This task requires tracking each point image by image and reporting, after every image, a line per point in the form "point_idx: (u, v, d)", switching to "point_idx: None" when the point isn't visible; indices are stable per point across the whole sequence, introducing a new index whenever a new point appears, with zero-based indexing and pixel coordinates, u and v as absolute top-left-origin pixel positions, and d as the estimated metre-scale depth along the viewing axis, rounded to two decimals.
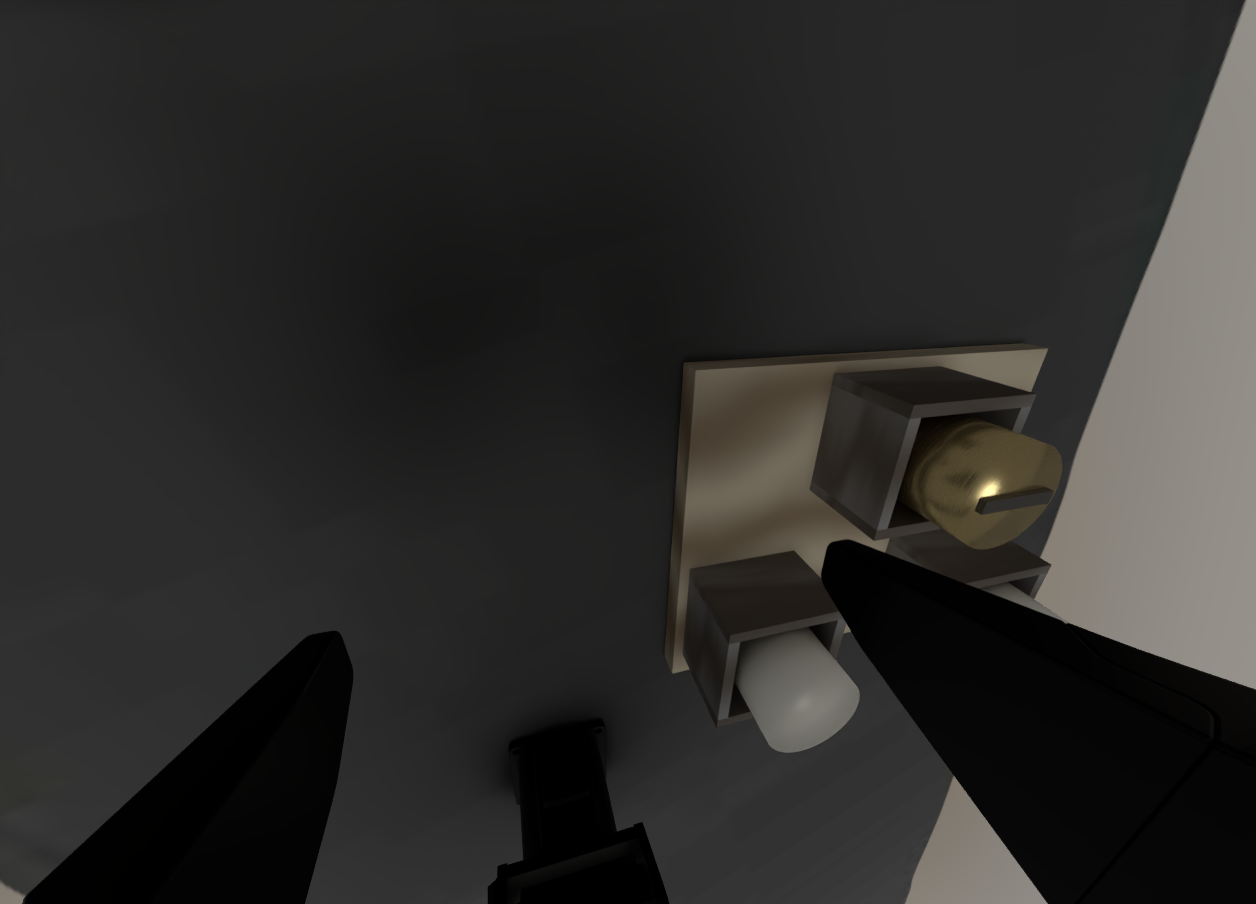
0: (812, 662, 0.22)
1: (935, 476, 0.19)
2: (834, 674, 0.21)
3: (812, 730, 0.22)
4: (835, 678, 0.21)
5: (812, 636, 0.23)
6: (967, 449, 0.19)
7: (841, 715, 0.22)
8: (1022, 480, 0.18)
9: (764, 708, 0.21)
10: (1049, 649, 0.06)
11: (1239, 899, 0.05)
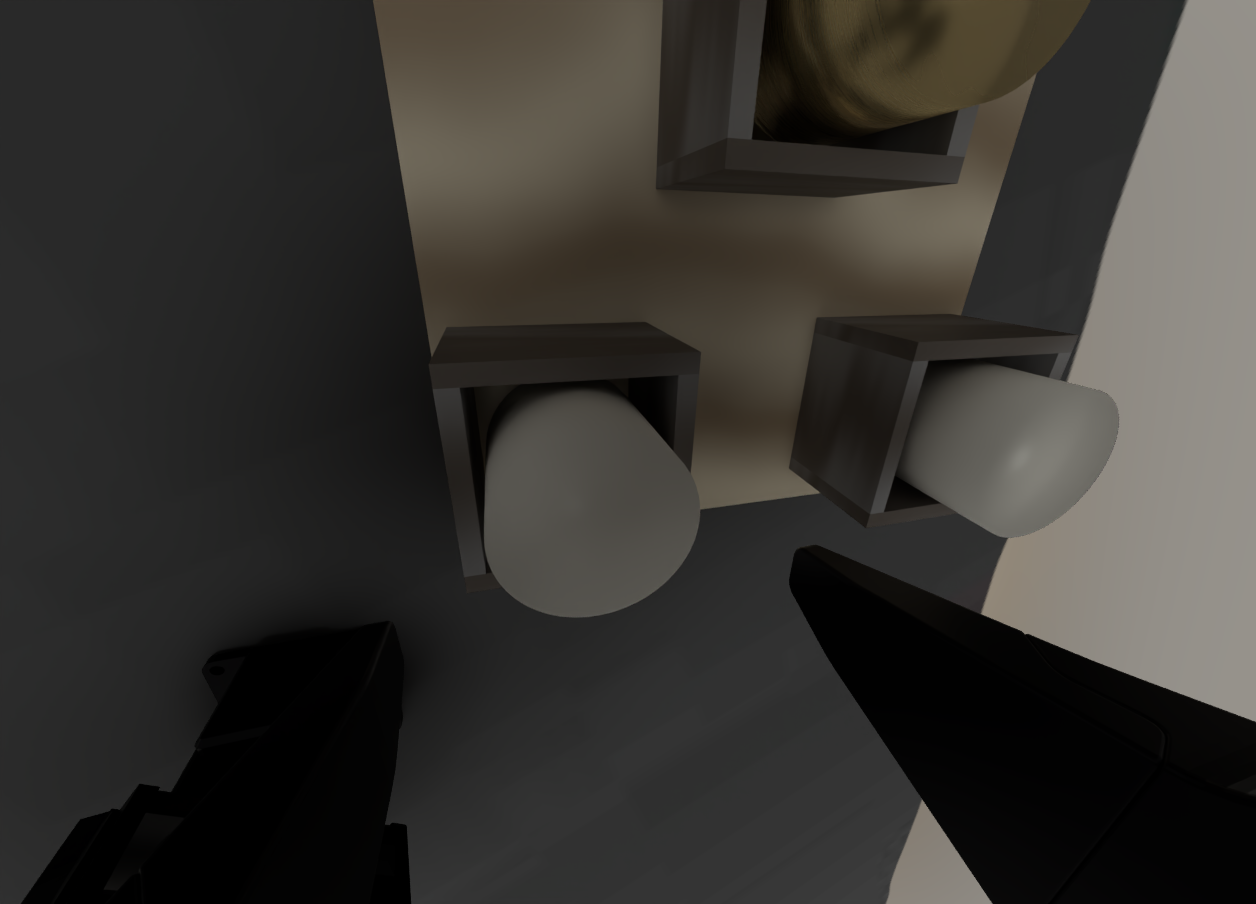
0: (592, 414, 0.10)
1: None
2: (629, 429, 0.10)
3: (605, 568, 0.11)
4: (626, 431, 0.10)
5: (627, 404, 0.12)
6: None
7: (666, 540, 0.11)
8: None
9: (486, 507, 0.10)
10: (1004, 662, 0.06)
11: None
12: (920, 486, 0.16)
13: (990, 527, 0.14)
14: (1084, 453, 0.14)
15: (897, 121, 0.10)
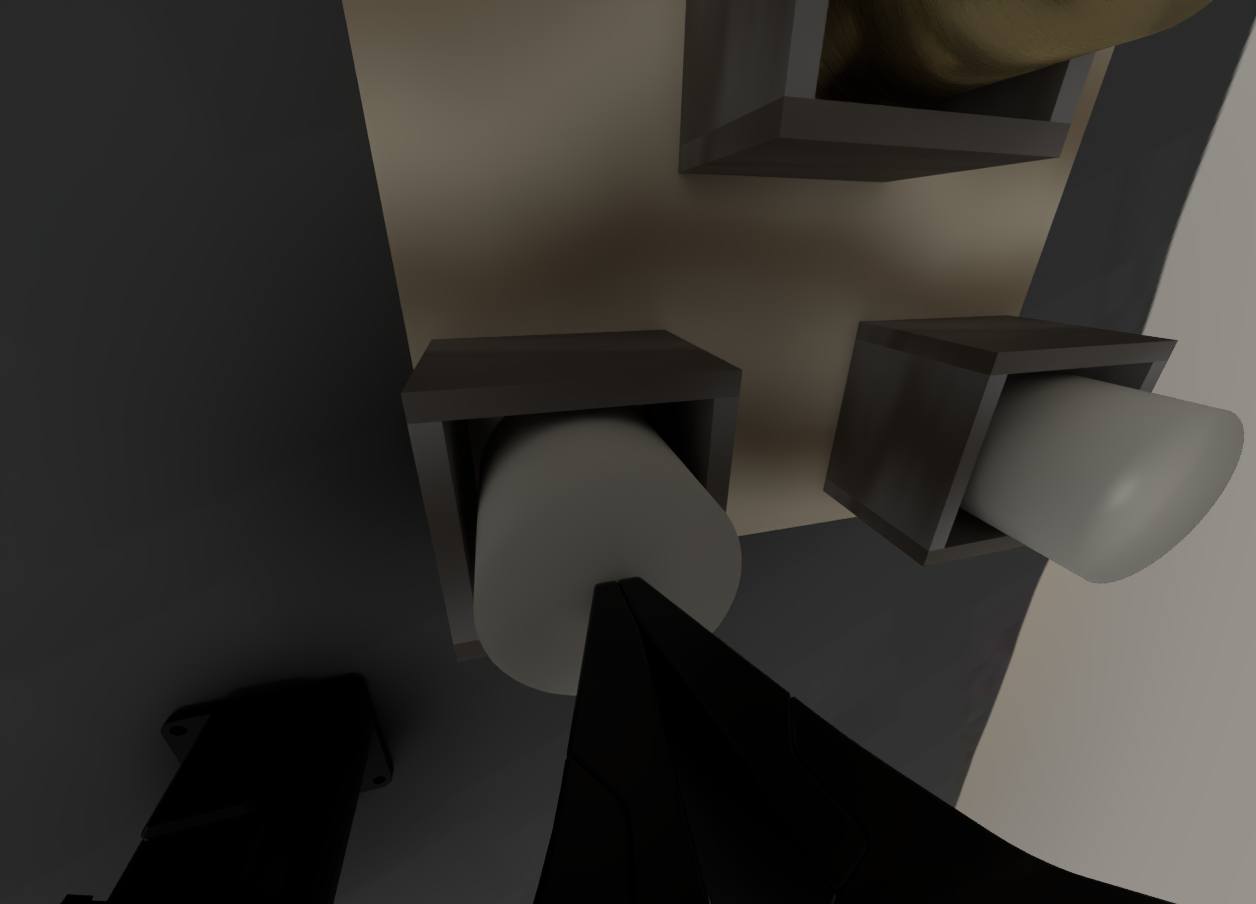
0: (608, 450, 0.08)
1: None
2: (656, 471, 0.08)
3: None
4: (654, 475, 0.08)
5: (648, 431, 0.10)
6: None
7: (700, 601, 0.09)
8: None
9: (475, 569, 0.08)
10: (742, 736, 0.05)
11: None
12: (989, 519, 0.14)
13: (1083, 572, 0.12)
14: (1199, 484, 0.12)
15: (1011, 69, 0.07)
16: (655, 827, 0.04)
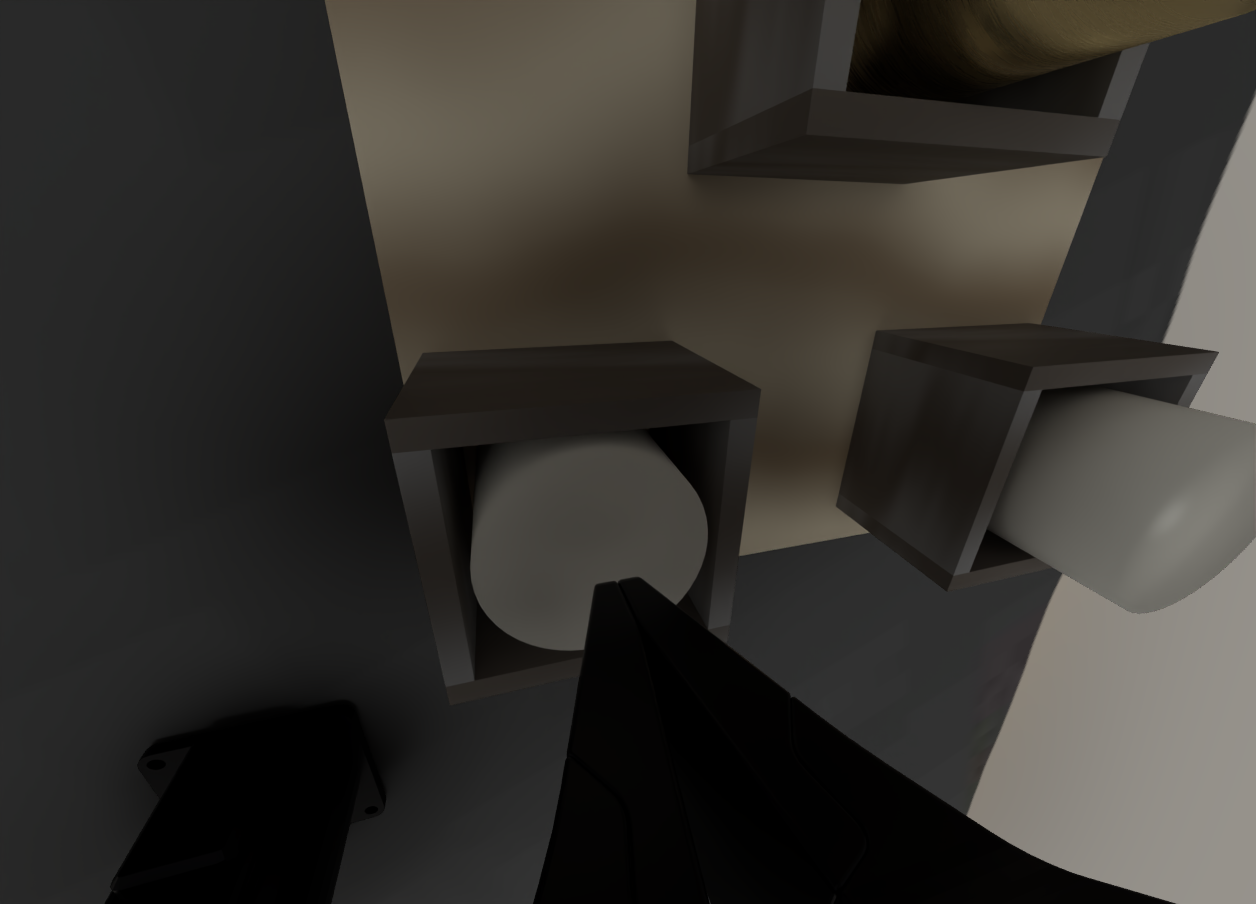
0: None
1: None
2: (630, 447, 0.09)
3: None
4: (626, 450, 0.09)
5: None
6: None
7: (671, 566, 0.10)
8: None
9: (472, 534, 0.09)
10: (742, 736, 0.05)
11: None
12: (1017, 542, 0.13)
13: (1125, 603, 0.11)
14: (1249, 508, 0.11)
15: (1068, 58, 0.07)
16: (657, 826, 0.04)
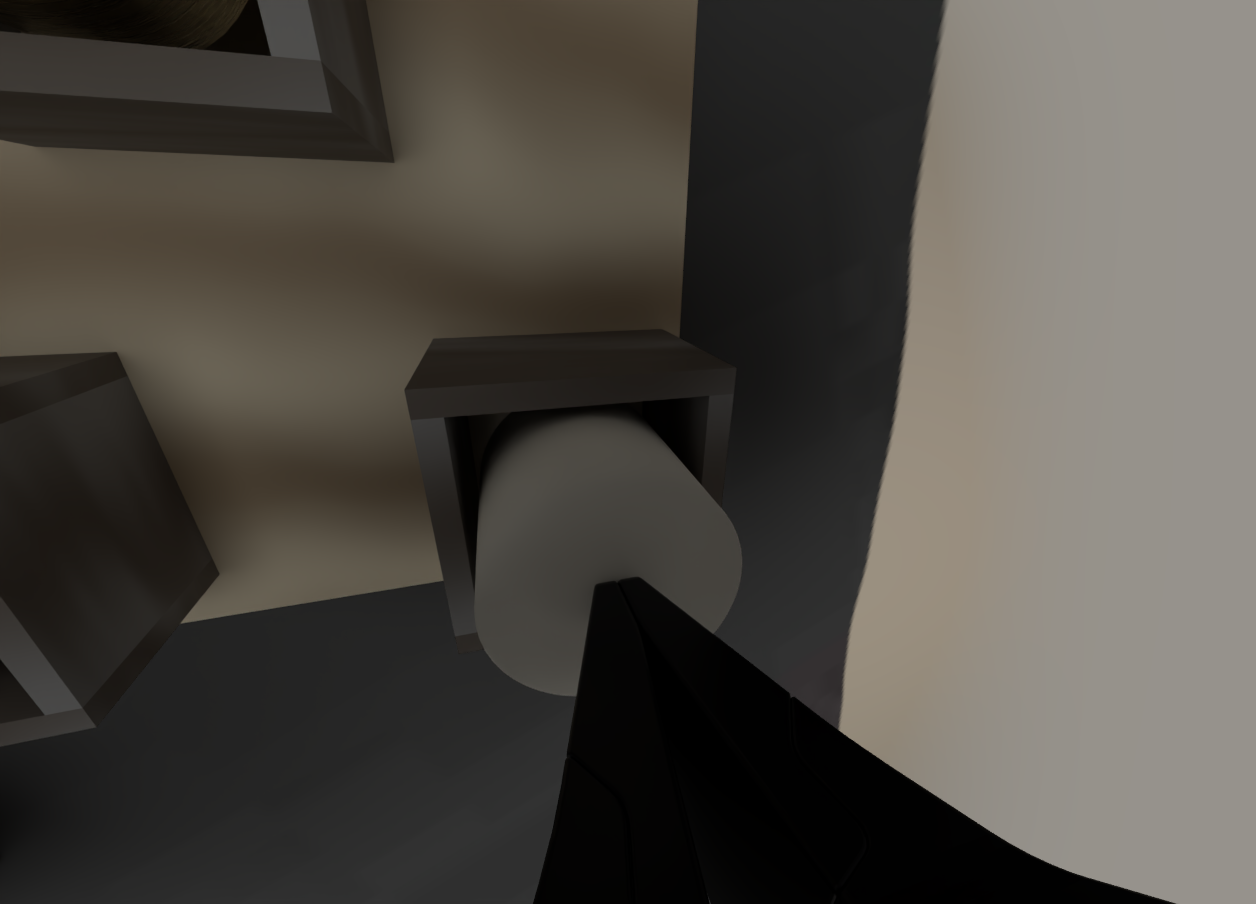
0: None
1: None
2: None
3: None
4: None
5: None
6: None
7: None
8: None
9: None
10: (742, 736, 0.05)
11: None
12: None
13: (542, 687, 0.09)
14: (682, 570, 0.09)
15: None
16: (656, 826, 0.04)
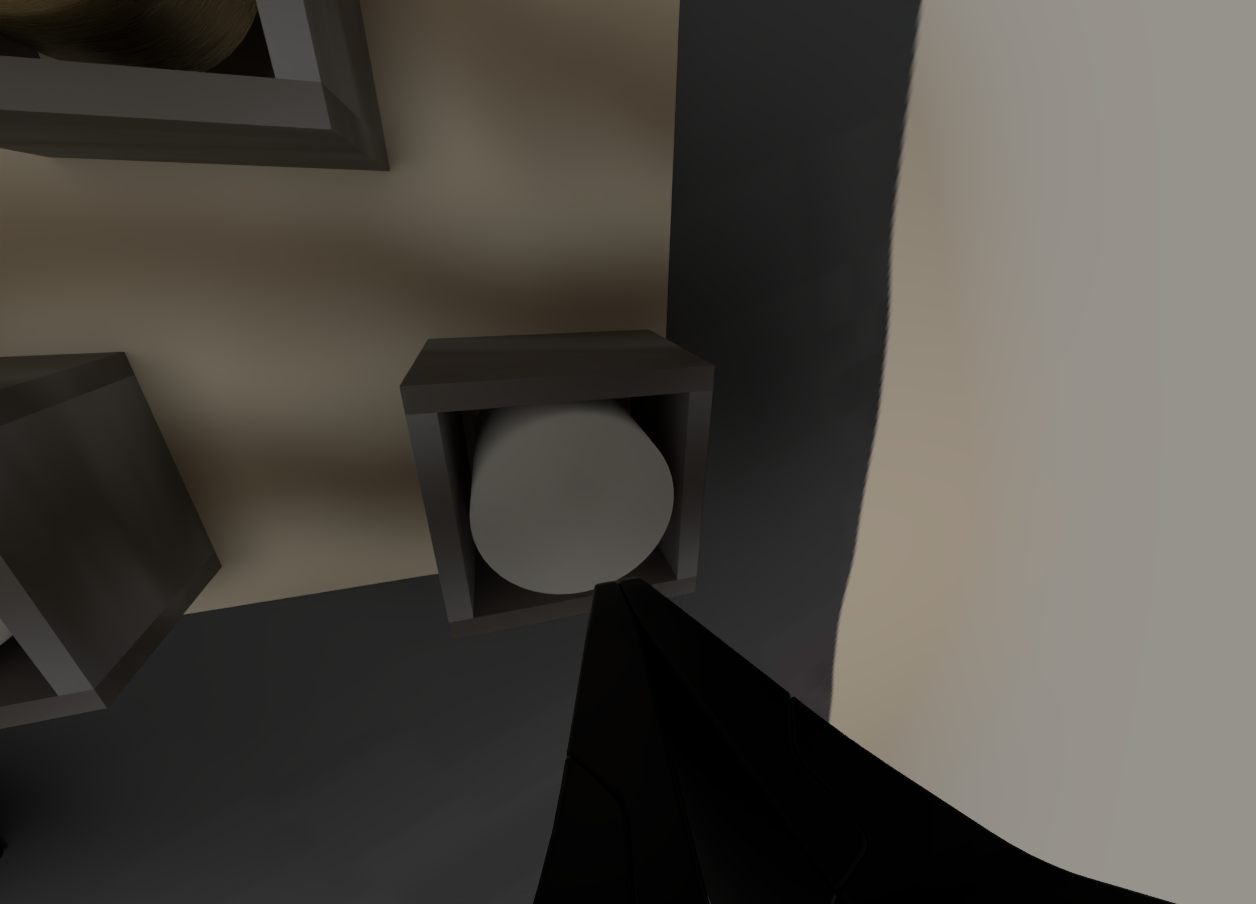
0: None
1: None
2: None
3: None
4: None
5: None
6: None
7: None
8: None
9: None
10: (742, 736, 0.05)
11: None
12: None
13: (522, 584, 0.12)
14: (626, 492, 0.11)
15: None
16: (656, 827, 0.04)
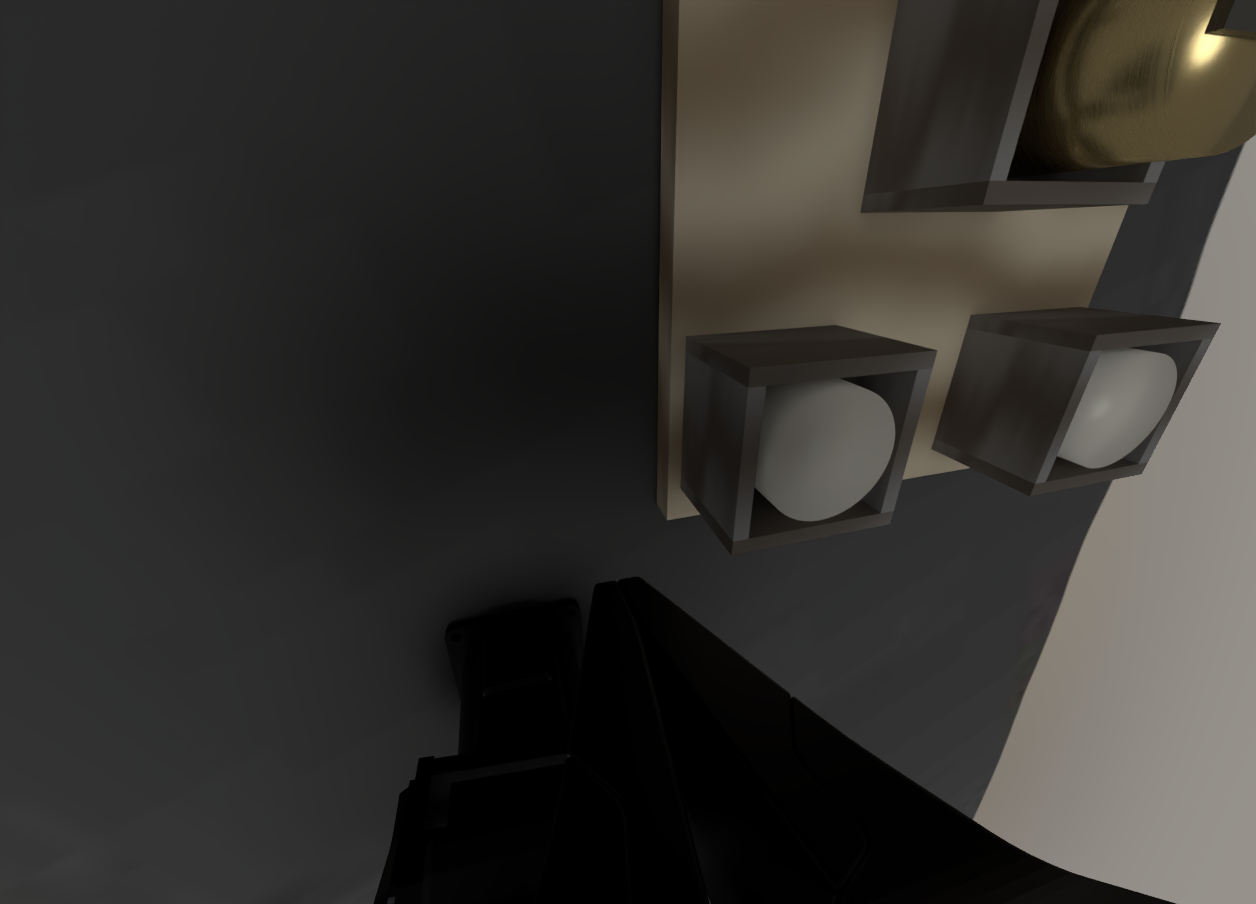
0: (828, 379, 0.15)
1: (1114, 10, 0.11)
2: (860, 387, 0.15)
3: (830, 485, 0.16)
4: (861, 388, 0.15)
5: None
6: None
7: (870, 465, 0.16)
8: None
9: (761, 442, 0.15)
10: (742, 737, 0.05)
11: None
12: None
13: (1079, 459, 0.19)
14: (1150, 402, 0.19)
15: (1132, 163, 0.13)
16: (656, 827, 0.04)
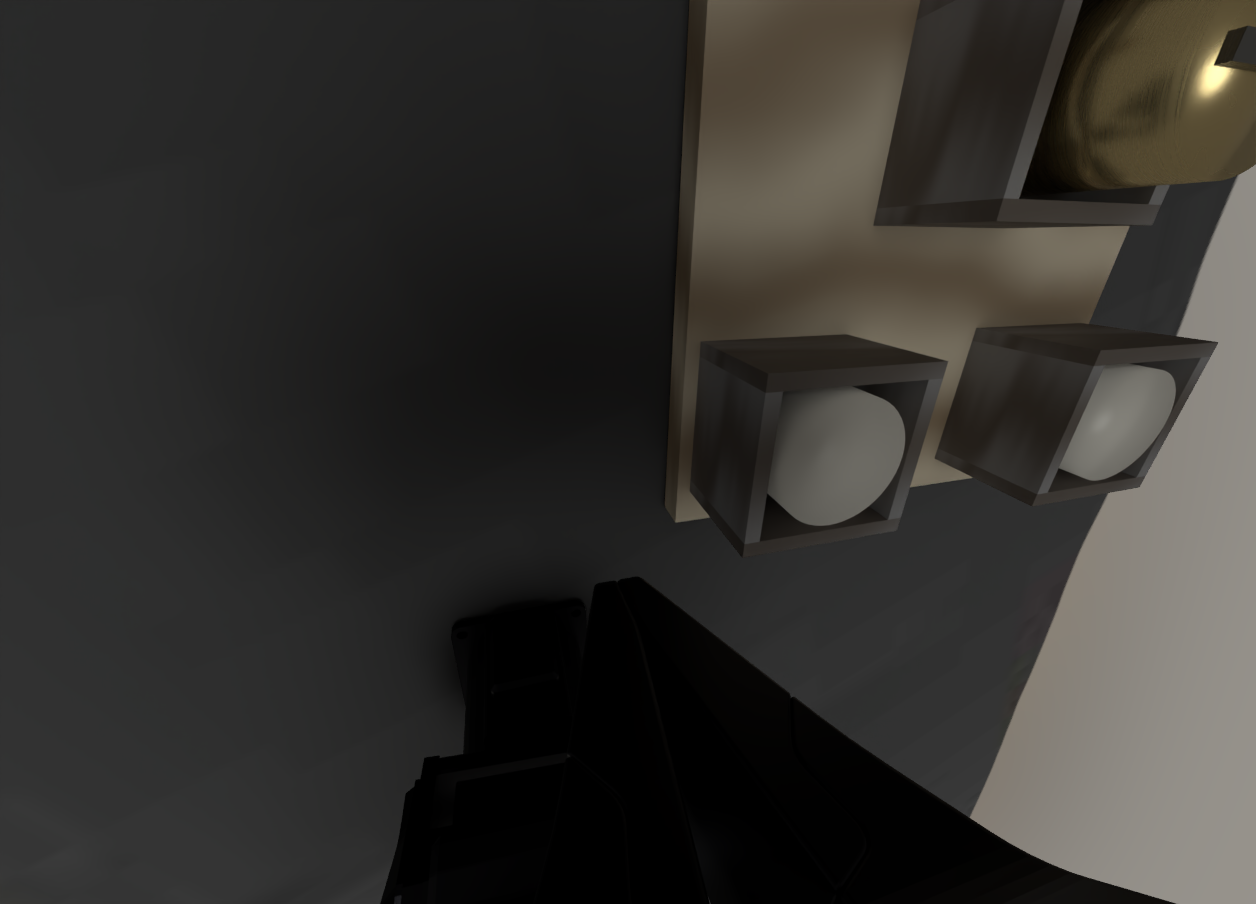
0: None
1: (1127, 40, 0.11)
2: None
3: (841, 490, 0.16)
4: (874, 395, 0.15)
5: None
6: None
7: (880, 471, 0.16)
8: None
9: (775, 446, 0.16)
10: (742, 737, 0.05)
11: None
12: None
13: (1081, 471, 0.20)
14: (1150, 416, 0.19)
15: (1140, 186, 0.13)
16: (657, 826, 0.04)
